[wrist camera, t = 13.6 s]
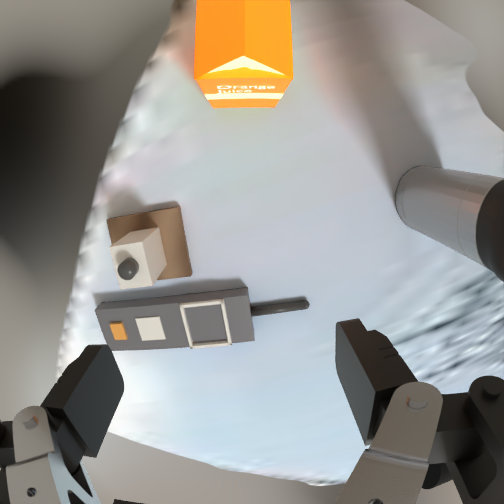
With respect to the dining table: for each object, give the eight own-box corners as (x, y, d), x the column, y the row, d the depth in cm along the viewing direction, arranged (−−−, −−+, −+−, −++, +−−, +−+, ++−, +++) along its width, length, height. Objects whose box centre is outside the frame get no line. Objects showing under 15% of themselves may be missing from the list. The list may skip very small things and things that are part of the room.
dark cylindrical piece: (480, 436, 66) (485, 461, 59) (412, 460, 60) (416, 491, 53) (502, 425, 59) (507, 451, 52) (437, 451, 53) (442, 485, 46)
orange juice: (274, 44, 33) (301, -42, 13) (275, 108, 35) (308, 59, 16) (212, 45, 32) (186, -41, 13) (211, 108, 35) (179, 60, 16)
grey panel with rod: (307, 279, 42) (311, 288, 39) (309, 323, 44) (313, 334, 41) (101, 302, 42) (93, 311, 39) (114, 342, 44) (108, 352, 41)
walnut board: (180, 206, 38) (178, 207, 37) (192, 272, 41) (190, 276, 40) (110, 218, 39) (106, 220, 37) (124, 280, 41) (121, 284, 40)
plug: (158, 227, 38) (137, 245, 30) (166, 264, 39) (149, 291, 31) (130, 231, 38) (103, 251, 30) (138, 268, 39) (115, 295, 31)
